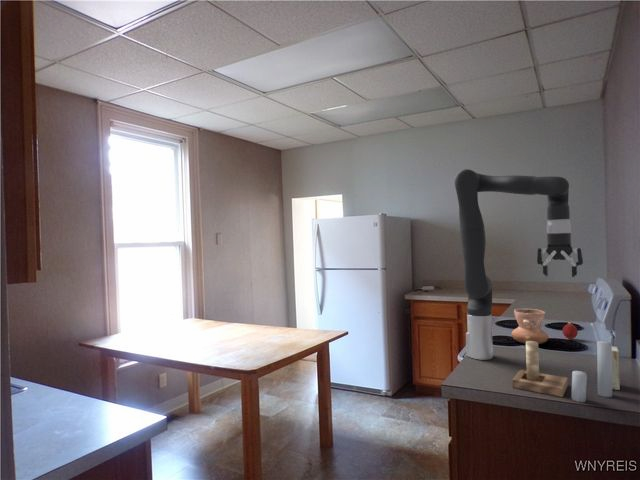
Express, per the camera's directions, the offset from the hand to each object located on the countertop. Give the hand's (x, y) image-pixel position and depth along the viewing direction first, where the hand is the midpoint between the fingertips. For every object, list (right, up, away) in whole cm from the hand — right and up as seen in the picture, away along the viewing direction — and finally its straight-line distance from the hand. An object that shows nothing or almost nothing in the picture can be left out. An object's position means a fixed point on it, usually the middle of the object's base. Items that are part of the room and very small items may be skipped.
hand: (559, 276), depth 147 cm
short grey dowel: (-11, -34, -28) cm, 45 cm away
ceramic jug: (+6, -33, +33) cm, 46 cm away
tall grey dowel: (-1, -34, -25) cm, 42 cm away
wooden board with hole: (-17, -34, -17) cm, 42 cm away
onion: (+25, -32, +33) cm, 52 cm away
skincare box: (+5, -34, -19) cm, 39 cm away
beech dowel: (-18, -34, -16) cm, 42 cm away
